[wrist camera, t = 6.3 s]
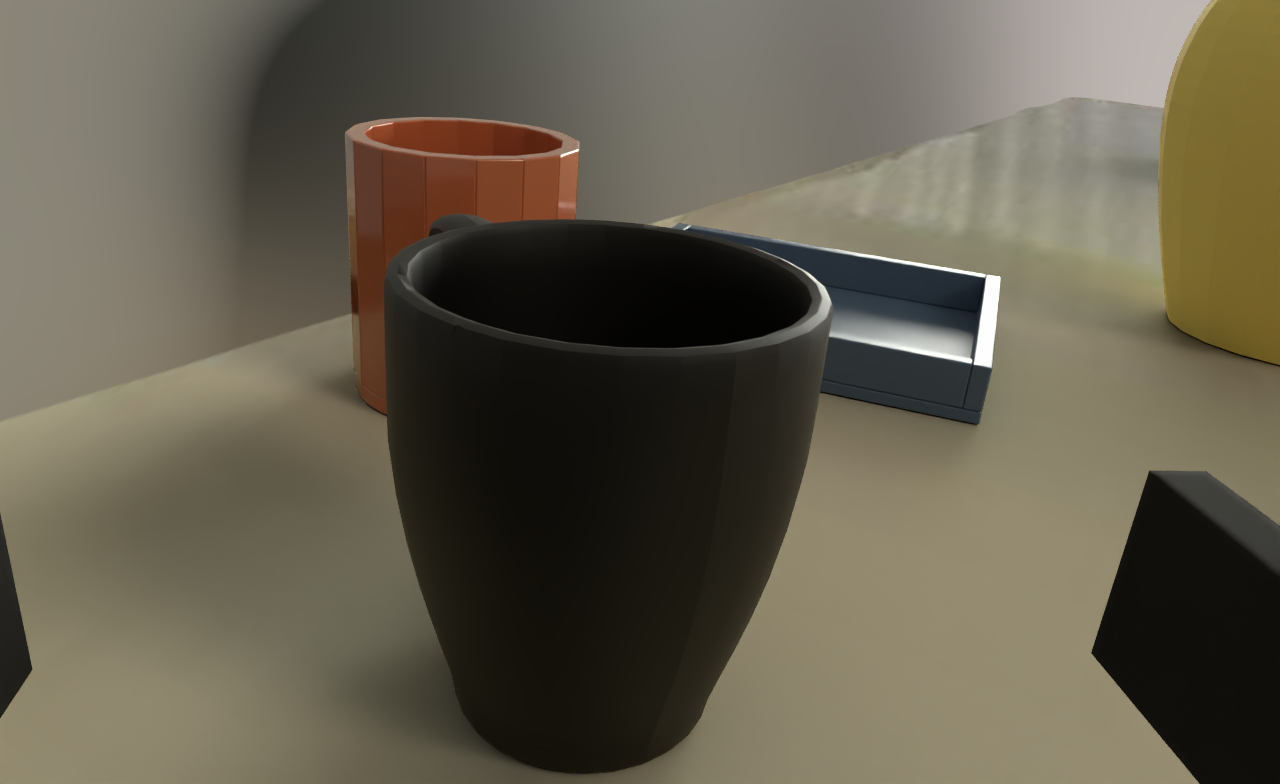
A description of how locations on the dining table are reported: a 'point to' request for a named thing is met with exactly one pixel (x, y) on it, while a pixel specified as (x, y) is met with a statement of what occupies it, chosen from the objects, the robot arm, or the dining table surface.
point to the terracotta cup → (438, 201)
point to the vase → (1224, 180)
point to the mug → (595, 467)
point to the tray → (898, 327)
